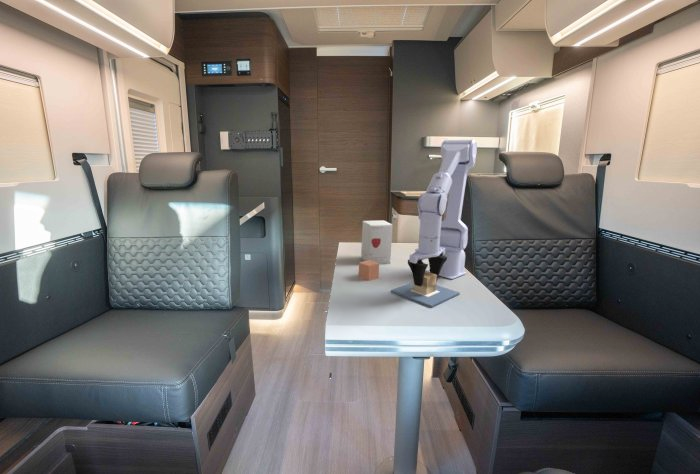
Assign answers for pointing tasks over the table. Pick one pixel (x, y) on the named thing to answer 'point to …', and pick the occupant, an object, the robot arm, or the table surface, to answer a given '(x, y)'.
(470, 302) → the table surface
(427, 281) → the oak block
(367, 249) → the supplement box
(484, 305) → the table surface
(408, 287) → the board
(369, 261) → the terracotta block
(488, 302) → the table surface
